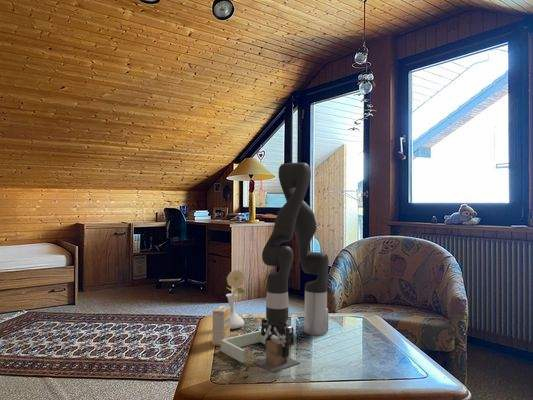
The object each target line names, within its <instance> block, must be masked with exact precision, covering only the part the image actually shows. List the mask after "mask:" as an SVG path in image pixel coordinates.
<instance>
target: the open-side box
mask: <svg viewBox="0 0 533 400" xmlns="http://www.w3.org/2000/svg"><path fill="white" fill-rule="evenodd" d="M271 338H272V339H275V338H278V337H276V336H275V335H273V336H272V337H271ZM257 343H261V344H263V345H265V338H264V336H262V335H261V330H258V331H253V332H252V331H251V332H248V333H244V334H240V335H236V336H230V338H227V339H223V340H221V346H220V352H221V353H224V354H226V355H227V356H229V357H231V358H232V359H234V360H236V361H238V362H240V363H242V364H243V363H246V350H245V349H244V348H242V347H246V346H250V345H254V344H257Z"/></svg>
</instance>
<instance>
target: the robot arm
mask: <svg viewBox="0 0 533 400" xmlns="http://www.w3.org/2000/svg"><path fill="white" fill-rule="evenodd" d="M311 172H312V171H311V167H310V166H309V163H306V162H286V163H282V164H281V165H280V166H279V168H278V174H277V175H278V181H279V183H280V187H281V189H282V192H283V195H284V198H285V201H286V202H285V204H283V206H282V207H281V208H280V209H279V210H278V212H277V215H276V217H275V221H274V225H273V229H272V232H271V235H270V236H269V238H268V240H267V242H266V243H265V245H264V247H263V249H262V253H261V259H262V263H264V265H266V266H269V267H270V266H271V267H279V271H278V272H272V273H269V274H268V275H267V277H266V297H265V317H264V318H261V324H260V326H261V327H260V331H261V335H262V336H264V338H265V344H264V347H265V348H266V341H267V340H271V339H272V338H271V337H272V336H275V337H277V338H278V339H279V340H280V341H281V343H282V357H283V358H286V357H289V355H290V346H294V345H295V339H294V338H295V337H294V336H295V333H294V326H292V325H291V326H288V325H287V321H288V320H289V277H290V273H291V272H290V271H291V269H292V266H293V261H294V255H295V254H294V251H293V249H292V248H291V247H290V246H288V245H282V243H287V242H290V241H291V240H292V239H293V237H294V235H295V239H296V242H297V247H298V253H299V261H300V266H301V270H302V271H303V273H305V274H308V275H315V276H316V275H317V277H316V278H317V279H315V280H312V281H308V282H306V283H305V284H304V330H303V331H304V333H305V334H307V335H311V336H323V335H326V334H327V332H329V308H328V283H329V281H328V280H329V277H328V276H329V265H330V264H329V263H330V261H329V256H328V254H327V253H326V252H318V251H317V252H316V251H310V243H311V241H312V239H313V238H314V236H315V234H316V232H317V229H318V227H317V222H316V217H315V213H314V211H313V209H312V208H311V207H310V206H309V205H308V203H307V202H306V201H304V199H305V197H306V193H307V190H308V189H309V186H310V182H311V177H312V176H311V175H312V173H311ZM284 340H285V341H286V342H284Z"/></svg>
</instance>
